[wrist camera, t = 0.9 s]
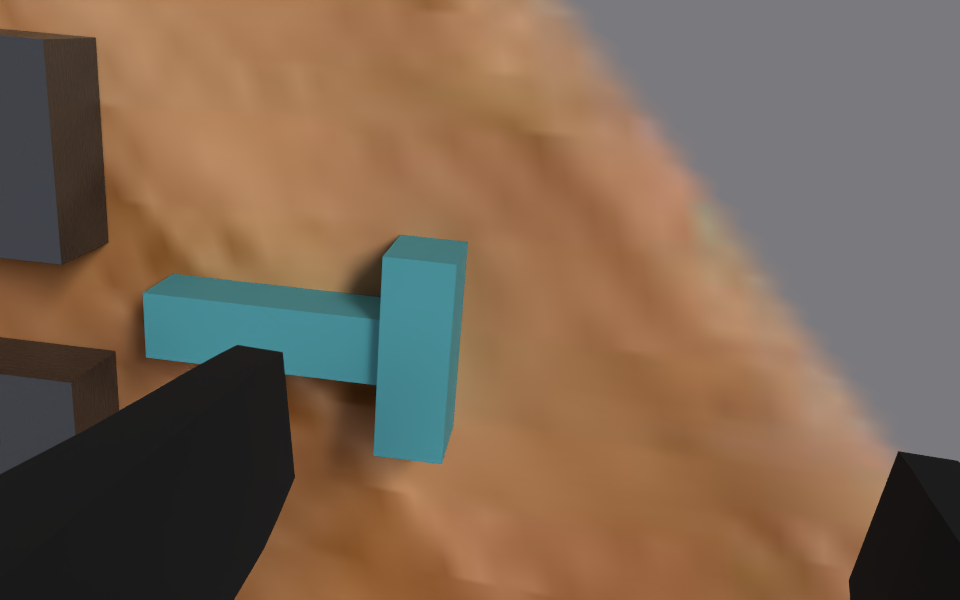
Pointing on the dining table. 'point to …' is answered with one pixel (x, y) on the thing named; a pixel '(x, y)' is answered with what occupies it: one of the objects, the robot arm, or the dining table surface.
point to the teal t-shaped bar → (339, 336)
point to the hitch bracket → (50, 231)
